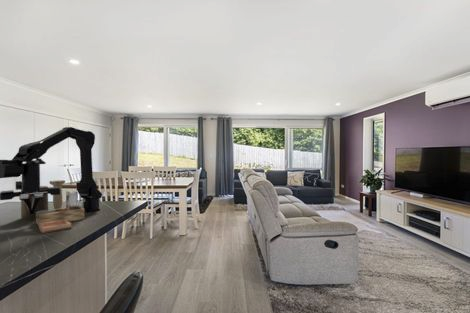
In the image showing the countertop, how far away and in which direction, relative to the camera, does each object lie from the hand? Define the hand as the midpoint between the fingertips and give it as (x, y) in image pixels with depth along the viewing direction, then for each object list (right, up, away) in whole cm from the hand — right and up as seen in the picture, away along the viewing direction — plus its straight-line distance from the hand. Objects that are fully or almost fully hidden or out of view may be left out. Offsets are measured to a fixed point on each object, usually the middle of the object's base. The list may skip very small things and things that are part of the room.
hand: (31, 214), depth 102 cm
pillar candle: (-9, -5, +13) cm, 16 cm away
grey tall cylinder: (+10, -2, +10) cm, 14 cm away
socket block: (+7, -4, +7) cm, 11 cm away
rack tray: (+12, -5, -3) cm, 13 cm away
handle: (-7, -4, +26) cm, 27 cm away
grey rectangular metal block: (+3, -2, +3) cm, 5 cm away
